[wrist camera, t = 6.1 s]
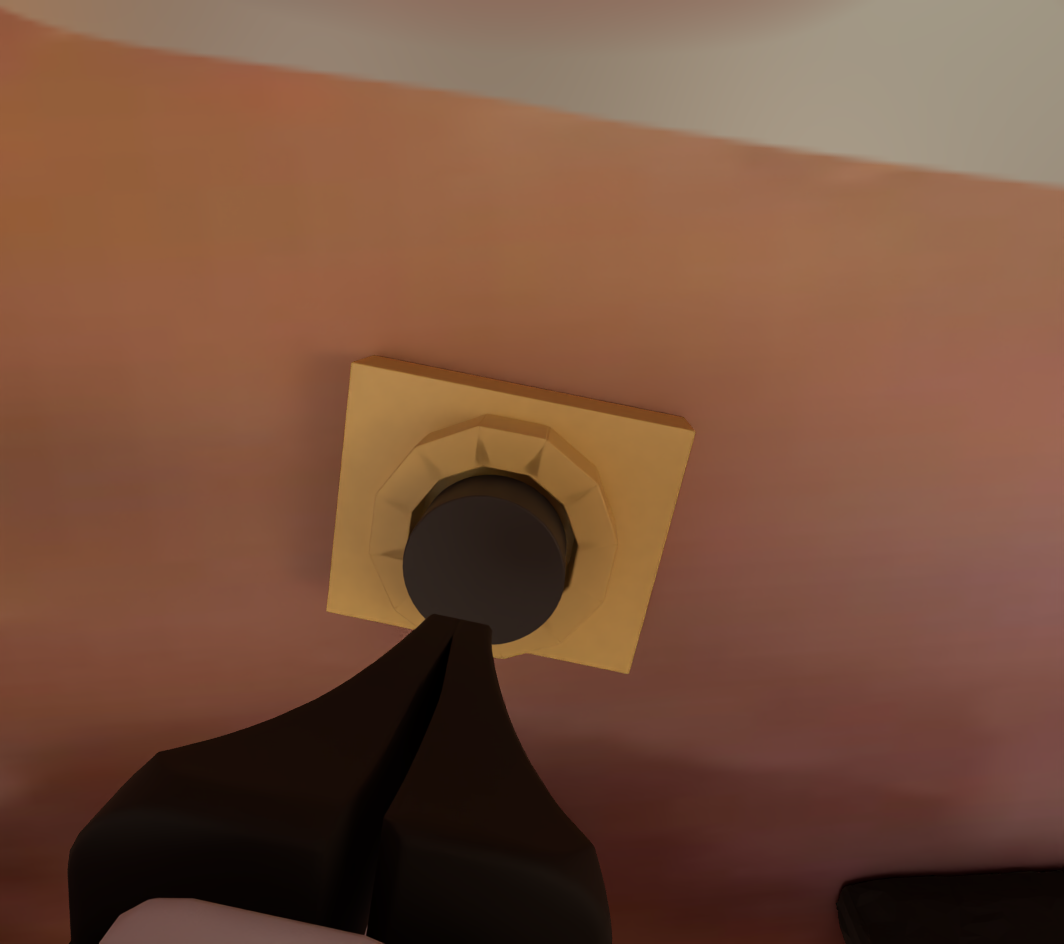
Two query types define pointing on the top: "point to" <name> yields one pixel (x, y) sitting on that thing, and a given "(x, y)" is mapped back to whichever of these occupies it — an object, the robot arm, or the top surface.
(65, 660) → the top surface
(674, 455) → the plate
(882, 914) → the film camera
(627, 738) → the top surface
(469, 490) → the button
